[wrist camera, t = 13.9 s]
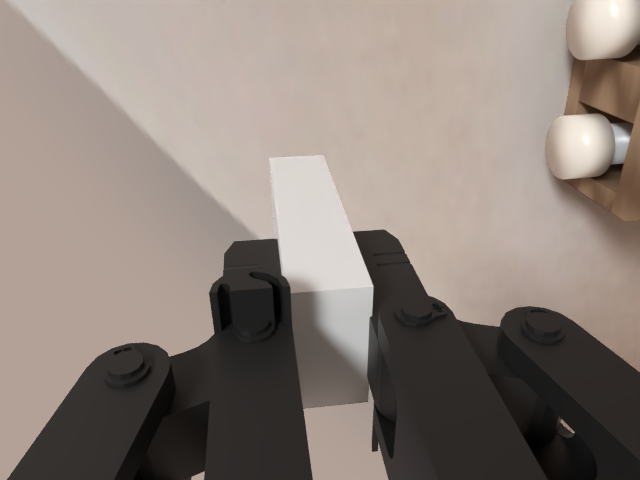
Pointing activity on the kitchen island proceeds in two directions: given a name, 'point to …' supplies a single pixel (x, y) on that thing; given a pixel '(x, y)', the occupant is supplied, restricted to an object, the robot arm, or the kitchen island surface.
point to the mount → (617, 106)
